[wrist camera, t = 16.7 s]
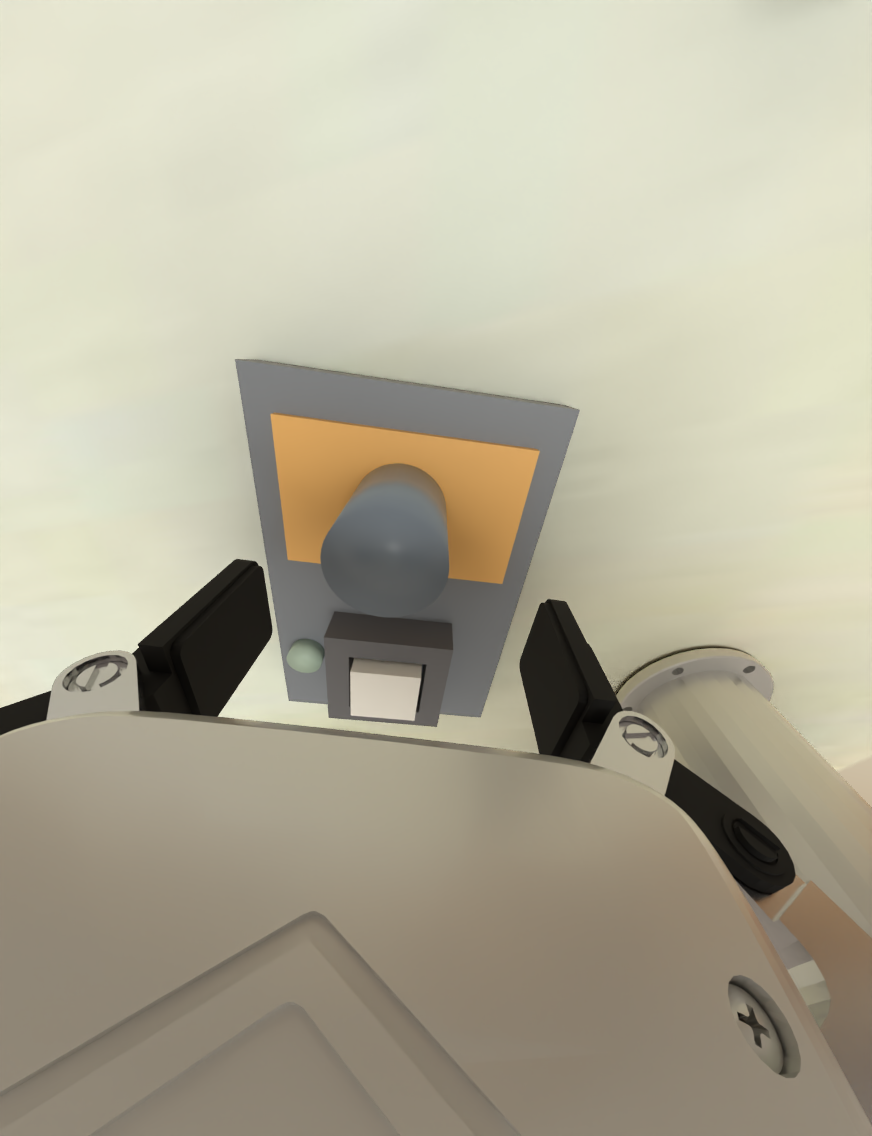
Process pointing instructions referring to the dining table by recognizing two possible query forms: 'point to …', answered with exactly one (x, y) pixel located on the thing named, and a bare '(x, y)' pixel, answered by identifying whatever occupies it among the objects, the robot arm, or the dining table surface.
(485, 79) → the dining table surface
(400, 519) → the cap
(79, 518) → the dining table surface
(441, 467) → the panel
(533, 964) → the robot arm
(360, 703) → the breaker button
